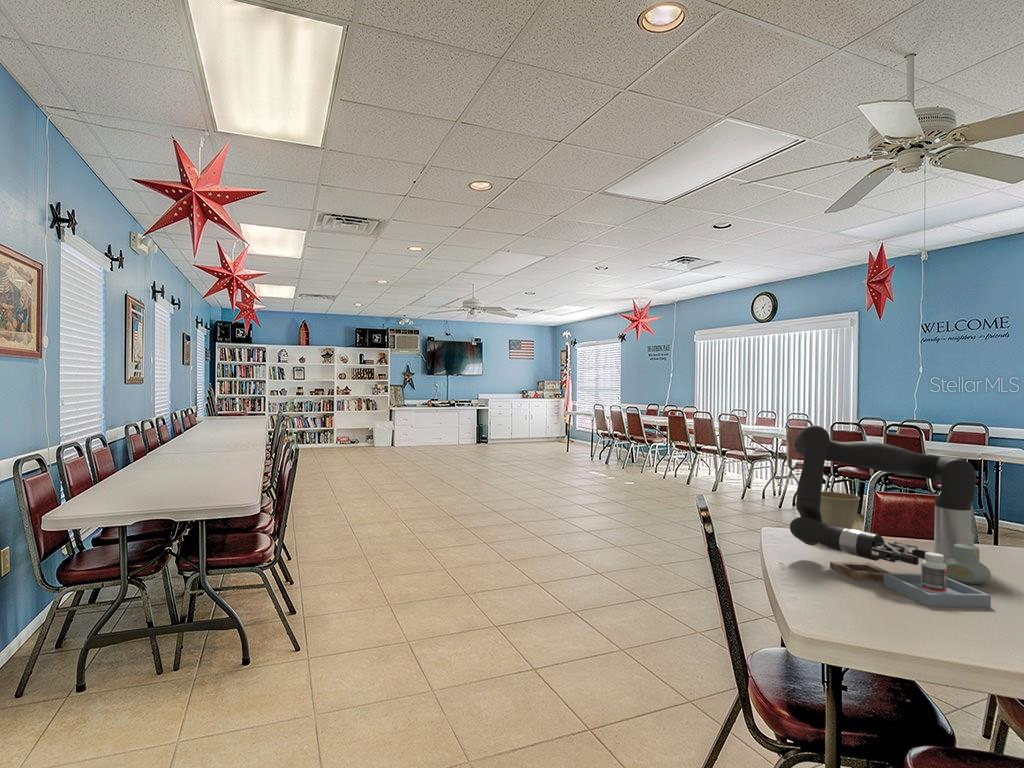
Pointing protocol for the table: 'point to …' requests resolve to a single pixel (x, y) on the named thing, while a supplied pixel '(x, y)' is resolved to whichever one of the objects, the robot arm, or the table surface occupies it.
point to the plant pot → (839, 509)
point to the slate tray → (953, 597)
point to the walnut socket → (850, 568)
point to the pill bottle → (933, 573)
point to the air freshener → (966, 565)
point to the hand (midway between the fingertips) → (925, 558)
